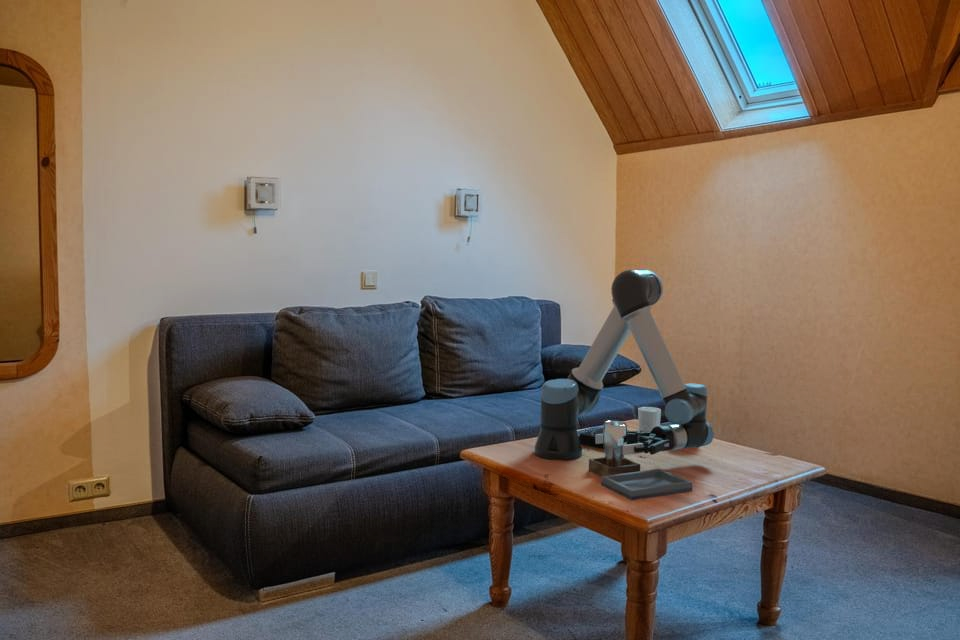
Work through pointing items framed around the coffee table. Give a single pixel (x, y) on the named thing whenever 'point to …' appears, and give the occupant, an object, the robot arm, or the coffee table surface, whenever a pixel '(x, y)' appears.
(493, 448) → the coffee table surface
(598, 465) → the walnut holder
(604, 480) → the slate tray
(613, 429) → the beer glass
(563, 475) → the coffee table surface
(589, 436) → the portable cd player
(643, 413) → the white cup
